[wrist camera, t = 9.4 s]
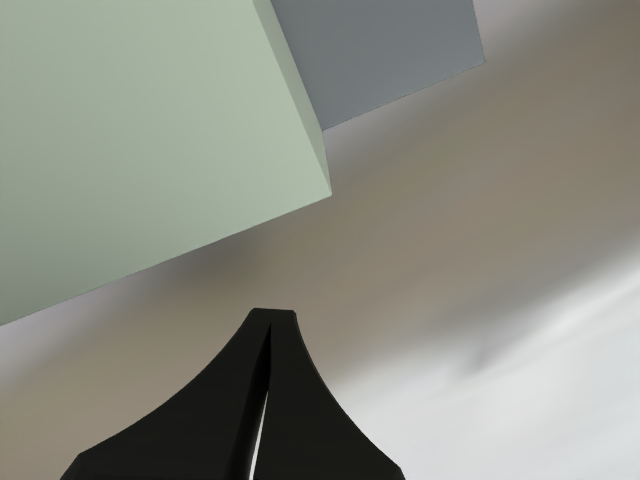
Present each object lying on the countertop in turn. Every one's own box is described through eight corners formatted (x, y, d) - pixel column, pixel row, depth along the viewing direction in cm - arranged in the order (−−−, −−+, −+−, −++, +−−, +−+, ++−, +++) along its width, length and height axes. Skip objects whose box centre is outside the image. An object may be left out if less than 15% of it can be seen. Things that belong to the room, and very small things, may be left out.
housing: (322, 132, 11) (332, 195, 6) (101, 224, 12) (-62, 350, 7) (177, -234, 8) (-75, -793, 3) (-102, -71, 9) (-675, -254, 4)
